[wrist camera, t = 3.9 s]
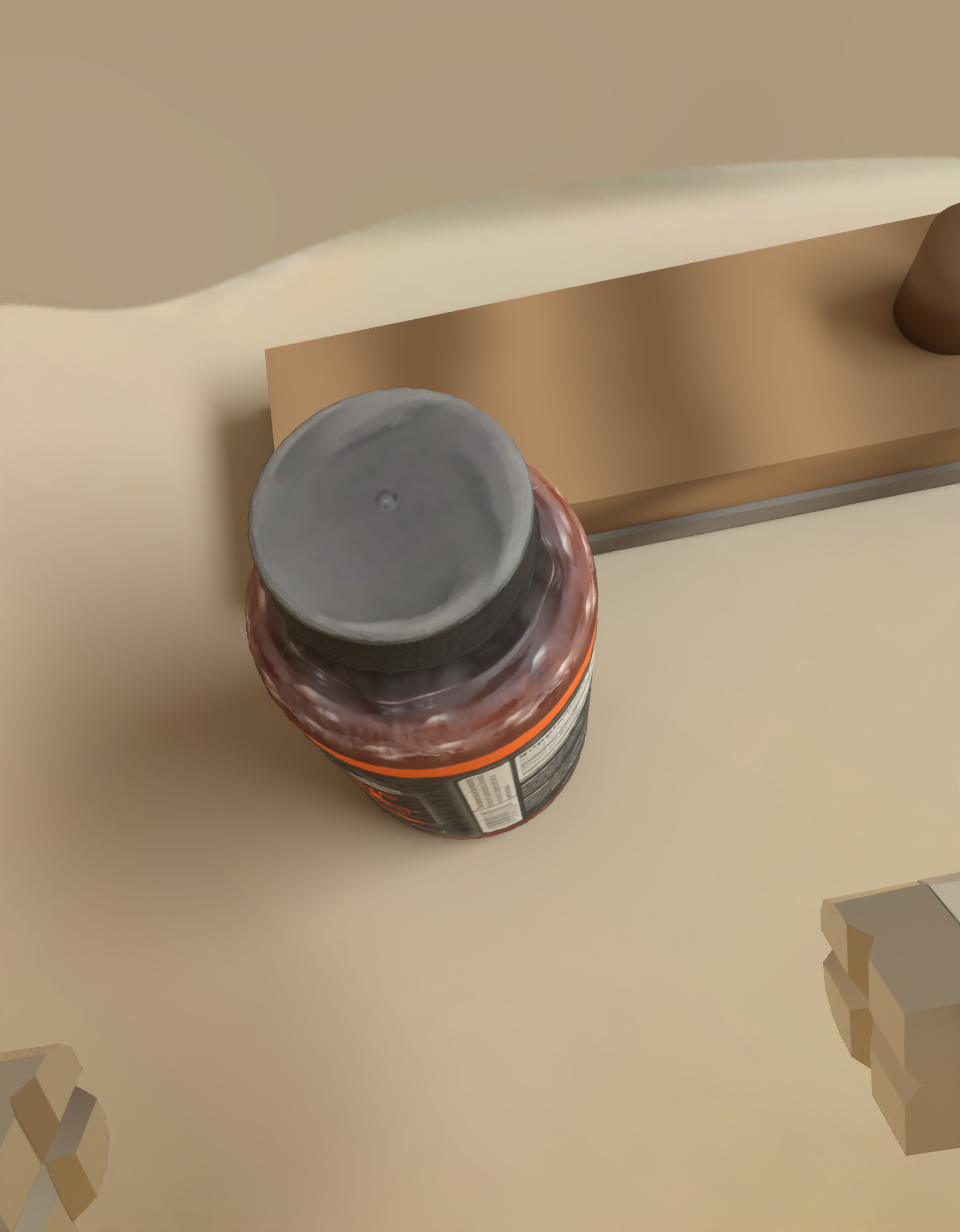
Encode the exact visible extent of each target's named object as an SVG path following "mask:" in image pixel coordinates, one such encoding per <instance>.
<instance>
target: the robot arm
mask: <svg viewBox="0 0 960 1232" xmlns="http://www.w3.org/2000/svg"><path fill="white" fill-rule="evenodd" d="M821 930H822V932H823V934H824V935H825V937H826V939H827V940H828V942H829V944H830V946H831V947H832V951H831V952H830V954H829V955H828V956H827V958H826V959H825V961H824V962H823V968H824V979H825V989H826V993H827V997H828V1000H829V1004H830V1008H831V1012H832V1016H833V1018H834V1021H835V1023H836V1025H837V1028H838V1030H839V1033H840V1035H841V1037H842V1039H843V1041H844V1043H845V1045H846V1047H847V1049H848V1051H849V1052H850V1054H851V1056H852V1057H853V1058H855V1059H856V1060H858V1061H859V1062H861V1063H863V1064H864V1065H866V1066H867V1067H869V1068H871V1077H872V1095H873V1097H874V1099H875V1101H876V1103H877V1104H878V1106H879V1108H880V1110H881V1112H882V1114H883V1115H884V1117H885V1119H886V1121H887V1123H888V1124H889V1126H890V1128H891V1130H892V1132H893V1134H894V1135H895V1137H896V1139H897V1141H898V1143H899V1144H900V1146H901V1148H902V1150H903V1152H904V1154H905V1155H906V1156H908V1155H915V1154H921V1153H928V1152H934V1151H941V1150H948V1149H954V1148H960V872H957V873H953V874H948V875H943V876H938V877H933V878H928V879H923V880H918V881H917V883H916V882H911V883H906V884H901V885H896V886H891V887H886V888H880V889H875V890H870V891H865V892H860V893H855V894H850V895H845V896H840V897H835V898H830V899H825V900H823V903H822V907H821ZM81 1071H82V1066H81V1065H80V1063H79V1061H78V1059H77V1057H76V1055H75V1054H74V1052H73V1050H72V1048H71V1046H67V1045H61V1044H54V1045H48V1046H42V1047H36V1048H30V1049H24V1050H17V1051H11V1052H5V1053H0V1232H78V1230H77V1228H76V1225H75V1222H74V1221H75V1220H76V1219H77V1217H78V1216H79V1215H80V1214H81V1213H82V1212H83V1211H84V1210H85V1209H86V1208H87V1207H88V1205H89V1204H90V1203H91V1202H92V1201H93V1200H94V1199H95V1198H96V1197H97V1194H98V1191H99V1188H100V1185H101V1182H102V1179H103V1176H104V1173H105V1170H106V1164H107V1153H108V1141H109V1136H108V1130H107V1125H106V1119H105V1115H104V1112H103V1110H102V1108H101V1106H100V1104H99V1102H98V1099H97V1098H96V1097H94V1096H92V1095H90V1094H89V1093H87V1092H85V1091H84V1090H82V1089H80V1088H79V1087H77V1086H76V1083H77V1081H78V1078H79V1076H80V1073H81Z"/></svg>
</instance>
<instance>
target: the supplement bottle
mask: <svg viewBox="0 0 960 1232" xmlns="http://www.w3.org/2000/svg"><path fill="white" fill-rule="evenodd" d="M248 539H249V545H250V549H251V553H252V559H253V561H252V565H251V567H250V571H249V577H248V584H247V590H246V600H245V605H246V606H245V616H246V631H247V638H248V640H249V648H250V650H251V653H252V655H253V658H254V661H255V665H256V667H257V669H258V672H259V674H260V676H261V678H262V680H263V682H264V684H265V686H266V688H267V690H268V693H269V695H270V696H271V697H272V698H273V699H274V701H275V702H276V703H277V704H278V705H279V707H280V708H281V709H282V710H283V712H284V713H285V714H286V715H287V716H288V718H289V719H290V720H291V721H292V722H293V723H294V724H295V725H296V726H297V727H298V728H299V729H300V730H301V731H302V732H303V733H304V735H305V736H306V737H307V738H308V739H309V740H311V741H312V742H313V743H314V744H315V745H316V746H317V747H318V748H319V749H320V750H321V751H322V752H323V753H324V754H325V755H326V756H327V757H328V758H329V759H330V760H331V761H332V762H334V763H335V764H336V765H337V766H339V767H340V768H341V769H342V770H343V771H344V772H345V773H346V774H347V775H348V776H349V777H350V778H351V779H352V780H353V781H354V782H355V783H356V784H357V785H358V786H359V787H360V788H361V789H363V790H364V791H365V793H366V795H368V796H369V797H370V798H371V799H372V800H373V801H375V803H377V804H378V805H379V806H380V807H381V808H382V809H383V810H384V811H386V812H387V813H389V814H391V815H392V816H394V817H395V818H397V819H398V820H400V821H401V822H404V823H406V824H408V825H410V826H412V827H414V828H416V829H418V830H421V831H423V832H426V833H429V834H431V835H436V836H441V837H447V838H453V839H461V840H462V839H479V838H483V837H489V836H493V835H497V834H500V833H503V832H507V831H509V830H512V829H514V828H516V827H517V826H520V825H522V824H524V823H527V822H528V821H529V820H531V819H533V818H534V817H535V816H537V815H538V814H539V813H541V812H542V811H543V810H544V809H546V808H547V807H548V806H549V805H550V804H551V803H552V802H553V801H554V799H555V798H556V797H557V796H558V795H559V793H560V792H561V791H562V790H563V788H564V787H565V785H566V784H567V782H568V781H569V780H570V778H571V776H572V774H573V772H574V770H575V767H576V765H577V763H578V760H579V758H580V754H581V750H582V748H583V745H584V741H585V736H586V730H587V722H588V711H589V701H590V692H591V683H592V669H593V663H594V652H595V640H596V631H597V612H598V586H597V577H596V568H595V563H594V559H593V554H592V552H591V548H590V543H589V541H588V539H587V536H586V534H585V531H584V529H583V527H582V525H581V523H580V521H579V519H578V517H577V515H576V514H575V512H574V510H573V508H572V507H571V505H570V504H569V503H568V501H567V500H566V498H565V497H564V496H563V495H562V494H561V492H560V491H559V490H558V489H557V488H556V487H555V486H554V485H553V484H552V483H551V482H550V481H549V480H548V479H547V478H546V477H545V476H544V475H543V474H541V473H540V472H539V471H538V470H537V469H535V468H534V467H532V466H531V465H529V464H528V463H527V462H525V460H524V458H523V456H522V454H521V452H520V450H519V448H518V447H517V446H516V444H515V442H514V440H513V439H512V438H511V437H510V436H509V435H508V434H507V432H506V431H505V430H504V429H503V428H502V427H501V426H500V424H499V423H498V422H497V421H496V420H495V419H494V418H492V417H491V416H490V415H489V414H487V413H485V412H483V411H481V410H479V409H478V408H477V407H475V406H474V405H472V404H470V403H468V402H466V401H464V400H462V399H460V398H457V397H455V396H453V395H450V394H447V393H443V392H437V391H430V390H426V389H413V388H407V387H404V388H391V389H381V390H374V391H371V392H365V393H361V394H357V395H354V396H350V397H347V398H345V399H343V400H341V401H338V402H336V403H334V404H332V405H330V406H328V407H325V408H323V409H321V410H319V411H318V412H316V413H315V414H313V415H312V416H311V417H310V418H309V419H307V420H305V421H304V422H302V423H301V424H300V425H299V426H298V427H297V428H295V429H294V430H293V431H292V432H291V433H290V435H288V436H287V437H286V438H284V440H283V441H282V443H281V444H280V445H279V446H278V447H277V448H276V449H275V450H274V452H273V453H272V455H271V456H270V458H269V460H268V462H267V463H266V464H265V466H264V468H263V470H262V471H261V473H260V475H259V477H258V481H257V484H256V486H255V489H254V491H253V494H252V497H251V499H250V506H249V513H248Z"/></svg>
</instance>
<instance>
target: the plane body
mask: <svg viewBox="0 0 960 1232" xmlns="http://www.w3.org/2000/svg"><path fill="white" fill-rule="evenodd" d="M265 357H266V367H267V378H268V388H269V399H270V409H271V419H272V430H273V440H274V450H275V449H276V448H277V447H278V446H279V445H280V444H281V443H282V441H283V440H284V438H286V437H287V436H288V435H290V433H291V432H292V431H293V430H294V429H295V428H297V427H298V426H299V425H300V424H301V423H302V422H304V421H305V420H307V419H309V418H310V417H311V416H312V415H313V414H315V413H316V412H318V411H319V410H321V409H323V408H325V407H328V406H330V405H332V404H334V403H336V402H338V401H341V400H343V399H345V398H347V397H350V396H354V395H357V394H361V393H365V392H371V391H374V390H381V389H391V388H404V387H407V388H413V389H426V390H430V391H437V392H443V393H447V394H450V395H453V396H455V397H457V398H460V399H462V400H464V401H466V402H468V403H470V404H472V405H474V406H475V407H477V408H478V409H479V410H481V411H483V412H485V413H487V414H489V415H490V416H491V417H492V418H494V419H495V420H496V421H497V422H498V423H499V424H500V426H501V427H502V428H503V429H504V430H505V431H506V432H507V434H508V435H509V436H510V437H511V438H512V439H513V440H514V442H515V444H516V446H517V447H518V448H519V450H520V452H521V454H522V456H523V458H524V460H525V462H527V463H528V464H529V465H531V466H532V467H534V468H535V469H537V470H538V471H539V472H540V473H541V474H543V475H544V476H545V477H546V478H547V479H548V480H549V481H550V482H551V483H552V484H553V485H554V486H555V487H556V488H557V489H558V490H559V491H560V492H561V494H562V495H563V496H564V497H565V498H566V500H567V501H568V503H569V504H570V505H571V507H572V508H573V510H574V512H575V514H576V515H577V517H578V519H579V521H580V523H581V525H582V527H583V529H584V531H585V534H586V536H587V539H588V541H589V543H590V548H591V552H592V554H593V555H595V554H600V553H605V552H611V551H616V550H621V549H626V548H631V547H636V546H641V545H646V544H651V543H656V542H661V541H666V540H671V539H676V538H681V537H686V536H691V535H696V534H702V533H707V532H712V531H717V530H722V529H727V528H732V527H737V526H742V525H747V524H752V523H757V522H762V521H767V520H772V519H777V518H782V517H787V516H792V515H798V514H803V513H808V512H813V511H818V510H823V509H828V508H833V507H838V506H843V505H848V504H853V503H858V502H863V501H868V500H873V499H878V498H883V497H888V496H894V495H899V494H904V493H909V492H914V491H919V490H924V489H929V488H934V487H939V486H944V485H949V484H954V483H959V482H960V203H958V204H955V205H953V206H950V207H948V208H947V209H945V210H943V211H942V212H941V213H936V214H932V215H927V216H922V217H917V218H912V219H907V220H902V221H897V222H892V223H887V224H882V225H877V226H872V227H867V228H862V229H858V230H853V231H848V232H843V233H838V234H833V235H828V236H823V237H818V238H813V239H808V240H803V241H798V242H793V243H789V244H784V245H779V246H774V247H769V248H764V249H759V250H754V251H749V252H744V253H739V254H734V255H729V256H724V257H720V258H715V259H710V260H705V261H700V262H695V263H690V264H685V265H680V266H675V267H670V268H665V269H660V270H655V271H650V272H646V273H641V274H636V275H631V276H626V277H621V278H616V279H611V280H606V281H601V282H596V283H591V284H586V285H581V286H577V287H572V288H567V289H562V290H557V291H552V292H547V293H542V294H537V295H532V296H527V297H522V298H517V299H512V300H508V301H503V302H498V303H493V304H488V305H483V306H478V307H473V308H468V309H463V310H458V311H453V312H448V313H443V314H438V315H434V316H429V317H424V318H419V319H414V320H409V321H404V322H399V323H394V324H389V325H384V326H379V327H374V328H369V329H365V330H360V331H355V332H350V333H345V334H340V335H335V336H330V337H325V338H320V339H315V340H310V341H305V342H300V343H296V344H291V345H286V346H281V347H276V348H271V349H266V350H265Z"/></svg>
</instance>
